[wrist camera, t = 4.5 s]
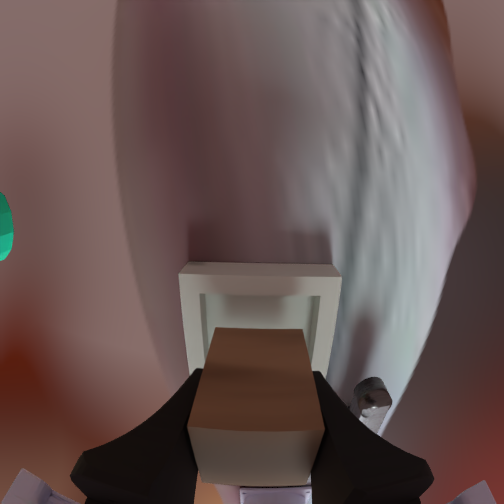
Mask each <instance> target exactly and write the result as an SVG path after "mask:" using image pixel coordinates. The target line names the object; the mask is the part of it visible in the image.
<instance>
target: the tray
mask: <svg viewBox="0 0 504 504" xmlns="http://www.w3.org/2000/svg"><path fill="white" fill-rule="evenodd" d="M341 282H342V276H341V275H340V273H339V272H338V271H337V269H336V268H335V267H334V265H333V264H280V263H230V262H190V261H188V262H187V264H186V265H185V266H184V267H183V269H182V270H181V271H180V272H179V286H180V297H181V308H182V318H183V327H184V335H185V343H186V351H187V359H188V366H189V373H190V375H191V374H192V372H193V371H194V370H195V369H196V368H204V364H205V361H206V357H207V354H208V351H209V347H210V344H211V340H212V337H213V333H214V330H215V327H225V328H255V329H303V333H304V337H305V342H306V346H307V350H308V355H309V359H310V363H311V368H312V371H320V372H321V373H322V375H323V376H324V378H325V379H326V374H327V369H328V364H329V359H330V354H331V348H332V343H333V337H334V331H335V325H336V318H337V312H338V305H339V298H340V290H341Z"/></svg>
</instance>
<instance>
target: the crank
mask: <svg viewBox="0 0 504 504" xmlns="http://www.w3.org/2000/svg"><path fill="white" fill-rule="evenodd" d="M391 405H392V399H391V397H390V395H389V393H388V391H387V389H386V387H385V385H384V383H383V381H382V379H380V378H378V377H370V378H367V379H365V380H363V381H361V382H360V383H359V384H358V385H357V386H356V387H355V389H354V397H353V400H352V403H351V406H350V409H349V410H350V411H351V412H352V413H353V414H354V415H355V416H356V417H357V418H358V419H359V420H360V421H361V422H362V423H364V424H365V425H366V426H367V427H368V428H369V429H371V430H372V431H373V432H374V433H376V434H377V433H378V431H379V428H380V426H381V424H382V422H383V420H384V418H385V416H386V413H387V411H388V410H389V408H390V407H391Z"/></svg>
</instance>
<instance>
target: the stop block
mask: <svg viewBox="0 0 504 504" xmlns="http://www.w3.org/2000/svg"><path fill="white" fill-rule="evenodd" d="M187 428H188V432H189V436H190V440H191V444H192V448H193V452H194V456H195V459H196V463H197V466H198V470H199V473H200V476H201V480H202V482H204V483H213V484H223V485H237V486H297V485H306V483H307V480H308V477H309V475H310V472H311V469H312V467H313V464H314V461H315V458H316V455H317V452H318V449H319V446H320V443H321V440H322V437H323V434H324V430H325V428H324V423H323V418H322V413H321V409H320V404H319V399H318V395H317V390H316V386H315V381H314V377H313V372H312V368H311V363H310V359H309V355H308V350H307V346H306V342H305V337H304V333H303V329H255V328H225V327H215V330H214V333H213V337H212V340H211V344H210V347H209V351H208V354H207V357H206V361H205V364H204V368H203V371H202V375H201V378H200V382H199V385H198V389H197V392H196V396H195V399H194V403H193V406H192V410H191V414H190V417H189V421H188V424H187Z"/></svg>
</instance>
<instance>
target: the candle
mask: <svg viewBox="0 0 504 504" xmlns="http://www.w3.org/2000/svg"><path fill="white" fill-rule="evenodd" d="M13 234H14V229H13V222H12V215H11V210H10V208H9V205H8V203H7V200H6V198H5V195H3V194H2V193H1V192H0V261H1V260H3V259H5V258H6V257H7V255H8V254H9V252H10V251H11V249H12V242H13Z"/></svg>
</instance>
